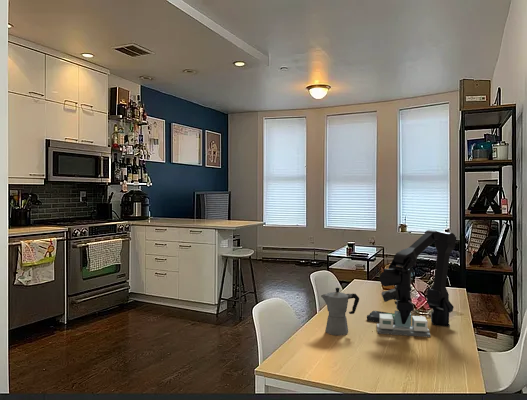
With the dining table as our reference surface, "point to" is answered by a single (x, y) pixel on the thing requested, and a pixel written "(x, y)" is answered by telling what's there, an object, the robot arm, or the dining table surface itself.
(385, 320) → the din board
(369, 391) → the dining table surface
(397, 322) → the block
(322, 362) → the dining table surface
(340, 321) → the coffeepot
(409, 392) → the dining table surface
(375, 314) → the disk drive
